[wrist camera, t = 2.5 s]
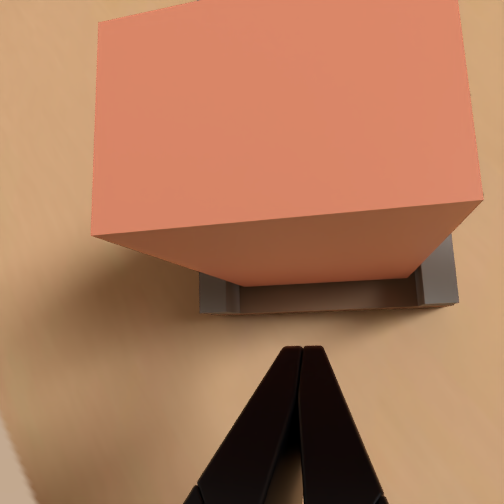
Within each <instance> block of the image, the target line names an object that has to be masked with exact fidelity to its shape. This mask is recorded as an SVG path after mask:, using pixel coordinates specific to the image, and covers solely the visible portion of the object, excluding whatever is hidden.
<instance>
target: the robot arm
mask: <svg viewBox="0 0 504 504" xmlns="http://www.w3.org/2000/svg"><path fill="white" fill-rule="evenodd" d="M197 484H198V486H197V485H195V486H194V487H193V489H192V490H191V492H190V493H189V495H188V497H187V498H186V500H185V501H184V503H183V504H302V500H303V499H304V504H389V503H388V501H387V499H386V497H385V496H384V492H383V489H382V487H381V485H380V482H379V480H378V477H377V475H376V473H375V470H374V468H373V465H372V463H371V461H370V458H369V456H368V453H367V451H366V449H365V446H364V444H363V441H362V439H361V437H360V434H359V432H358V429H357V427H356V425H355V422H354V420H353V417H352V415H351V413H350V410H349V408H348V405H347V403H346V401H345V398H344V396H343V393H342V391H341V389H340V386H339V384H338V381H337V379H336V377H335V374H334V372H333V369H332V367H331V365H330V362H329V360H328V357H327V355H326V353H325V350H324V348H323V347H322V346H305V347H304V348H302V347H301V346H286V347H284V348H283V349H282V350H281V351H280V353H279V355H278V356H277V358H276V359H275V361H274V362H273V364H272V365H271V367H270V369H269V370H268V372H267V373H266V375H265V376H264V378H263V380H262V381H261V383H260V384H259V386H258V387H257V389H256V390H255V392H254V394H253V395H252V397H251V398H250V400H249V401H248V403H247V405H246V406H245V408H244V409H243V411H242V412H241V414H240V416H239V417H238V419H237V420H236V422H235V423H234V425H233V426H232V428H231V430H230V431H229V433H228V434H227V436H226V437H225V439H224V441H223V442H222V444H221V445H220V447H219V448H218V450H217V452H216V453H215V455H214V456H213V458H212V459H211V461H210V462H209V464H208V466H207V467H206V469H205V470H204V472H203V473H202V475H201V477H200V478H199V480H198V481H197Z"/></svg>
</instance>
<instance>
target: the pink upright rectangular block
mask: <svg viewBox="0 0 504 504" xmlns="http://www.w3.org/2000/svg"><path fill="white" fill-rule="evenodd" d="M483 200H484V199H483V191H482V184H481V176H480V168H479V160H478V153H477V145H476V137H475V129H474V122H473V114H472V106H471V99H470V91H469V83H468V75H467V68H466V60H465V52H464V45H463V37H462V29H461V21H460V14H459V6H458V0H199V1H194V2H190V3H185V4H180V5H176V6H171V7H167V8H162V9H158V10H153V11H149V12H144V13H139V14H135V15H130V16H126V17H121V18H117V19H112V20H108V21H103V22H98V49H97V77H96V104H95V132H94V160H93V188H92V216H91V236H94V237H97V238H100V239H103V240H105V241H108V242H111V243H114V244H117V245H120V246H123V247H126V248H129V249H132V250H135V251H138V252H141V253H144V254H147V255H150V256H153V257H156V258H159V259H162V260H165V261H168V262H171V263H174V264H177V265H180V266H183V267H186V268H189V269H192V270H195V271H198V272H201V273H204V274H207V275H210V276H213V277H216V278H219V279H222V280H225V281H228V282H231V283H234V284H237V285H240V286H243V287H253V286H272V285H290V284H308V283H327V282H345V281H363V280H382V279H400V278H408V277H409V276H410V275H411V274H412V273H413V272H414V271H415V270H416V269H417V268H418V267H419V266H420V265H421V264H422V263H423V262H424V261H425V260H426V258H427V257H428V256H429V255H430V254H431V253H432V252H433V251H434V250H435V249H436V248H437V247H438V246H439V245H440V244H441V243H442V242H443V241H444V240H445V239H446V238H447V237H448V236H449V235H450V234H451V233H452V232H453V231H454V230H455V229H456V228H457V227H458V226H459V225H460V224H461V223H462V222H463V221H464V219H465V218H466V217H467V216H468V215H469V214H470V213H471V212H472V211H473V210H474V209H475V208H476V207H477V206H478V205H479V204H480V203H481V202H482V201H483Z"/></svg>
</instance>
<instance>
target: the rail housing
mask: <svg viewBox="0 0 504 504" xmlns="http://www.w3.org/2000/svg"><path fill="white" fill-rule="evenodd" d="M197 1H199V0H197ZM199 295H200V313H204V314H211V315H247V314H273V313H298V312H324V311H349V310H375V309H400V308H426V307H447V306H452V305H454V304H455V303H459V296H458V288H457V279H456V270H455V261H454V253H453V244H452V235H451V234H450V235H449V236H448V237H447V238H446V239H445V240H444V241H443V242H442V243H441V244H440V245H439V246H438V247H437V248H436V249H435V250H434V251H433V252H432V253H431V254H430V255H429V256H428V257H427V258H426V260H425V261H424V262H423V263H422V264H421V265H420V266H419V267H418V268H417V269H416V270H415V271H414V272H413V273H412V274H411V275H410V276H409V277H408V278H400V279H382V280H363V281H345V282H327V283H308V284H290V285H272V286H253V287H243V286H240V285H237V284H234V283H231V282H228V281H225V280H222V279H219V278H216V277H213V276H210V275H207V274H204V273H201V272H199Z"/></svg>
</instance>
